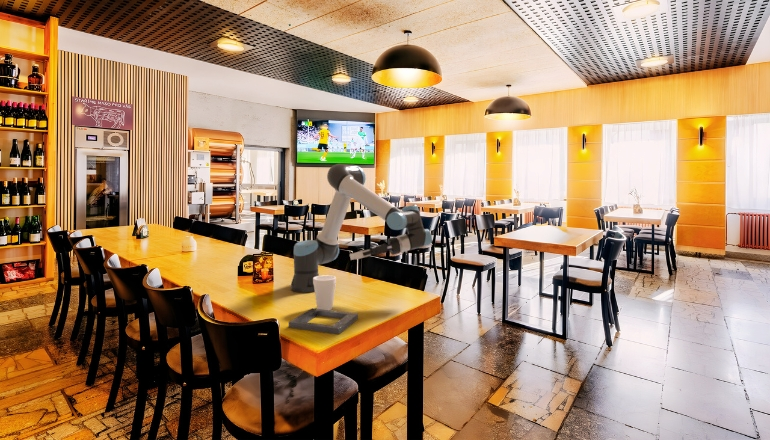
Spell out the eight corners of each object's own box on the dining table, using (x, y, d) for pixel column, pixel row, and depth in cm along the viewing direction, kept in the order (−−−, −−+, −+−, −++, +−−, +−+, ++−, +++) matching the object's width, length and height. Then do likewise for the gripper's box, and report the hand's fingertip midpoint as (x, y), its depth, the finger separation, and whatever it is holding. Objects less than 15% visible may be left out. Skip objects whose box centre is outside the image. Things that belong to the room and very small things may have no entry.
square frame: (288, 327, 143) (288, 322, 143) (311, 313, 159) (311, 308, 159) (339, 334, 137) (339, 328, 137) (358, 318, 153) (358, 313, 153)
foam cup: (314, 305, 170) (314, 275, 169) (336, 304, 171) (336, 274, 170) (312, 312, 161) (312, 280, 159) (335, 311, 161) (335, 280, 160)
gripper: (408, 251, 165) (359, 265, 160) (393, 253, 189) (350, 265, 184) (403, 234, 166) (355, 246, 160) (389, 238, 190) (346, 249, 184)
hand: (352, 256), depth 172 cm, fingers open, 13 cm apart
